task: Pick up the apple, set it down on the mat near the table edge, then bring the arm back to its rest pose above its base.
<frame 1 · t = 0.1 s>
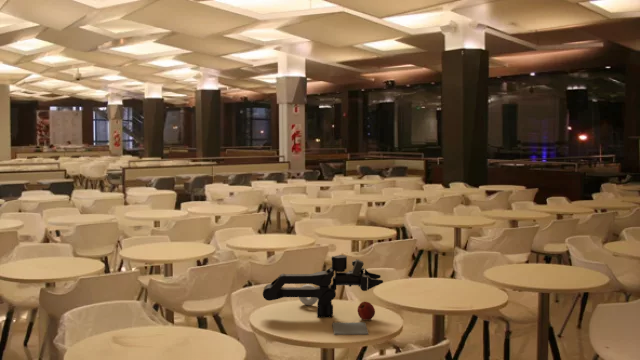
hand: (381, 278, 303), 17 cm above the table, tool horizontal, fingers open, 9 cm apart
mat: (350, 329, 285), on the table
apple: (366, 320, 298), on the table
donut: (308, 305, 320), on the table
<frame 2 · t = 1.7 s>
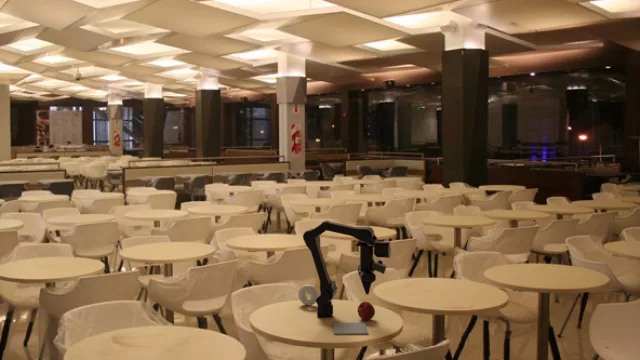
hand: (366, 291, 297), 12 cm above the table, tool pointing down, fingers open, 9 cm apart
nothing on the table moved.
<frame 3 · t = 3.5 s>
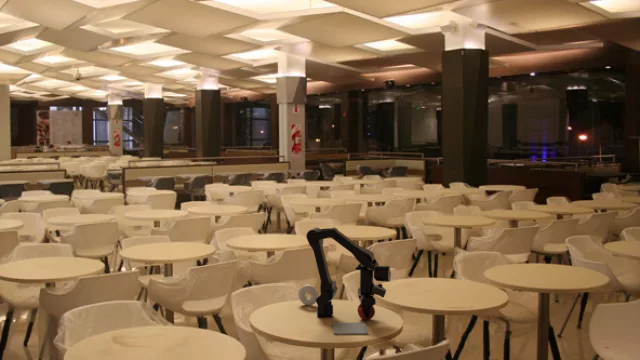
hand: (366, 315, 298), 2 cm above the table, tool pointing down, fingers closed on apple, 7 cm apart
apple: (366, 319, 298), on the table, touching gripper
everything else where it was.
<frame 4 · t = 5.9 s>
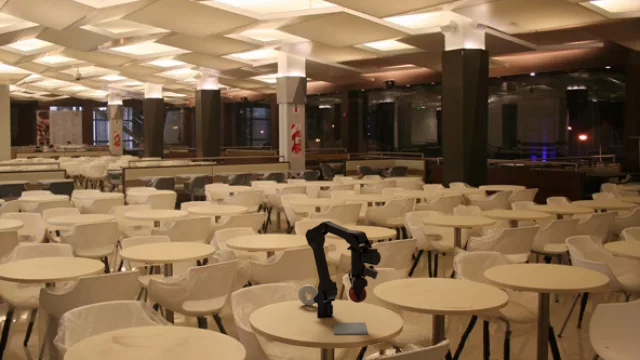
hand: (357, 297, 289), 12 cm above the table, tool pointing down, fingers closed on apple, 7 cm apart
apple: (357, 302, 290), point 10 cm above the table, touching gripper
everything else where it was.
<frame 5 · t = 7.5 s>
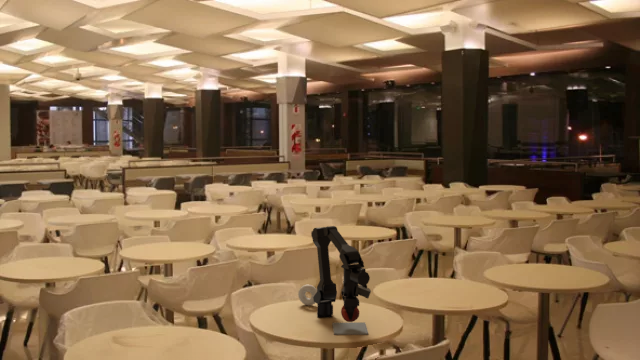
hand: (349, 316, 285), 5 cm above the table, tool pointing down, fingers closed on apple, 7 cm apart
apple: (350, 321, 285), point 3 cm above the table, touching gripper
everything else where it was.
when the fingers open (4 cm above the table, at t = 8.8 s): apple drops 1 cm, resting on mat.
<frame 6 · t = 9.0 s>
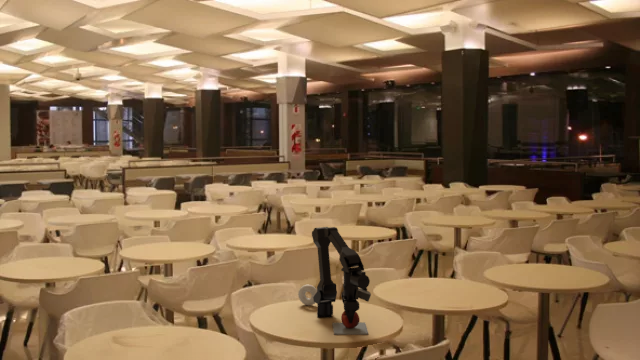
hand: (350, 319, 285), 4 cm above the table, tool pointing down, fingers open, 9 cm apart
apple: (349, 328, 285), resting on mat
everything else where it was.
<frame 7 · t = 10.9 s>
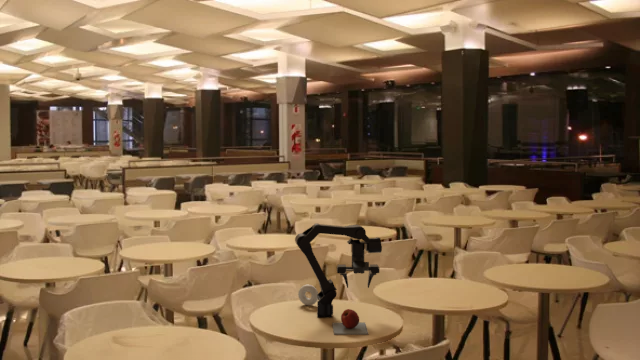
hand: (357, 287, 305), 12 cm above the table, tool pointing down, fingers open, 9 cm apart
nothing on the table moved.
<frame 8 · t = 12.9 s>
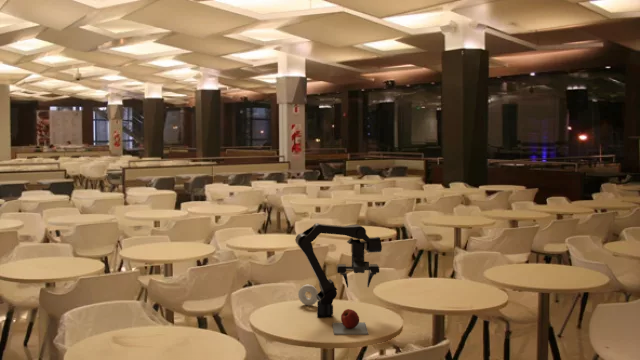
hand: (357, 287, 306), 12 cm above the table, tool pointing down, fingers open, 9 cm apart
nothing on the table moved.
at the end: apple inside the target area on the mat (0.2 cm from its centre), point 0.4 cm above the mat's base; the gripper is holding nothing; apple moved 15.5 cm from its start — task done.
